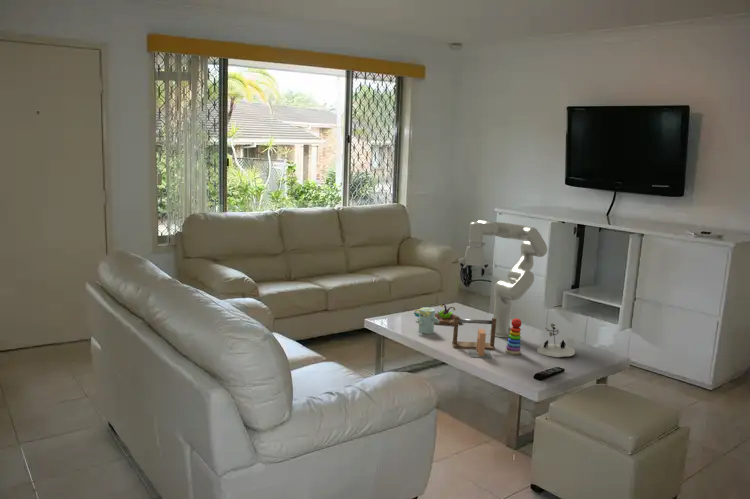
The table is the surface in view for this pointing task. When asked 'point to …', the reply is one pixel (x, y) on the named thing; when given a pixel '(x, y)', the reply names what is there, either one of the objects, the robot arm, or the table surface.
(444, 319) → the plant
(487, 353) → the mat
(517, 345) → the stacking toy
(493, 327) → the rack
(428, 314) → the character sculpture
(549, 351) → the figurine
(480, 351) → the tall peach block
